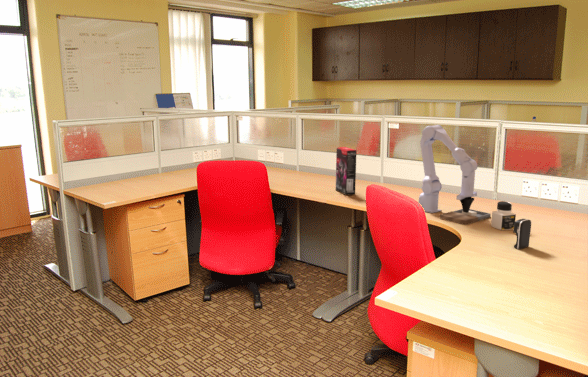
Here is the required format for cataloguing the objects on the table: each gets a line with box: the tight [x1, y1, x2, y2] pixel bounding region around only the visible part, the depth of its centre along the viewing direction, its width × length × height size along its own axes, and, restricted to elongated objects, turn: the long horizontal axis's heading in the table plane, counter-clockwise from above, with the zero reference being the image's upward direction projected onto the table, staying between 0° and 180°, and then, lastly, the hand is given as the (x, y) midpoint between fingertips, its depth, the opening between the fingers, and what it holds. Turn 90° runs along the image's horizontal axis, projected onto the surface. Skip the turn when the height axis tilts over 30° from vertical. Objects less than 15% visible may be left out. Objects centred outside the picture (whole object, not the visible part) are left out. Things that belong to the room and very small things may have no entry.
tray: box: [453, 208, 492, 222], centre depth 232 cm, size 14×11×2 cm
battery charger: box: [512, 218, 532, 250], centre depth 185 cm, size 7×4×11 cm, turn 124°
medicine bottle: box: [490, 200, 516, 231], centre depth 211 cm, size 7×7×12 cm
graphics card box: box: [335, 146, 358, 196], centre depth 284 cm, size 17×7×27 cm, turn 17°
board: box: [439, 210, 479, 226], centre depth 225 cm, size 14×10×2 cm
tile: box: [462, 211, 477, 216], centre depth 230 cm, size 5×5×2 cm
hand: (465, 212), depth 228 cm, fingers closed
